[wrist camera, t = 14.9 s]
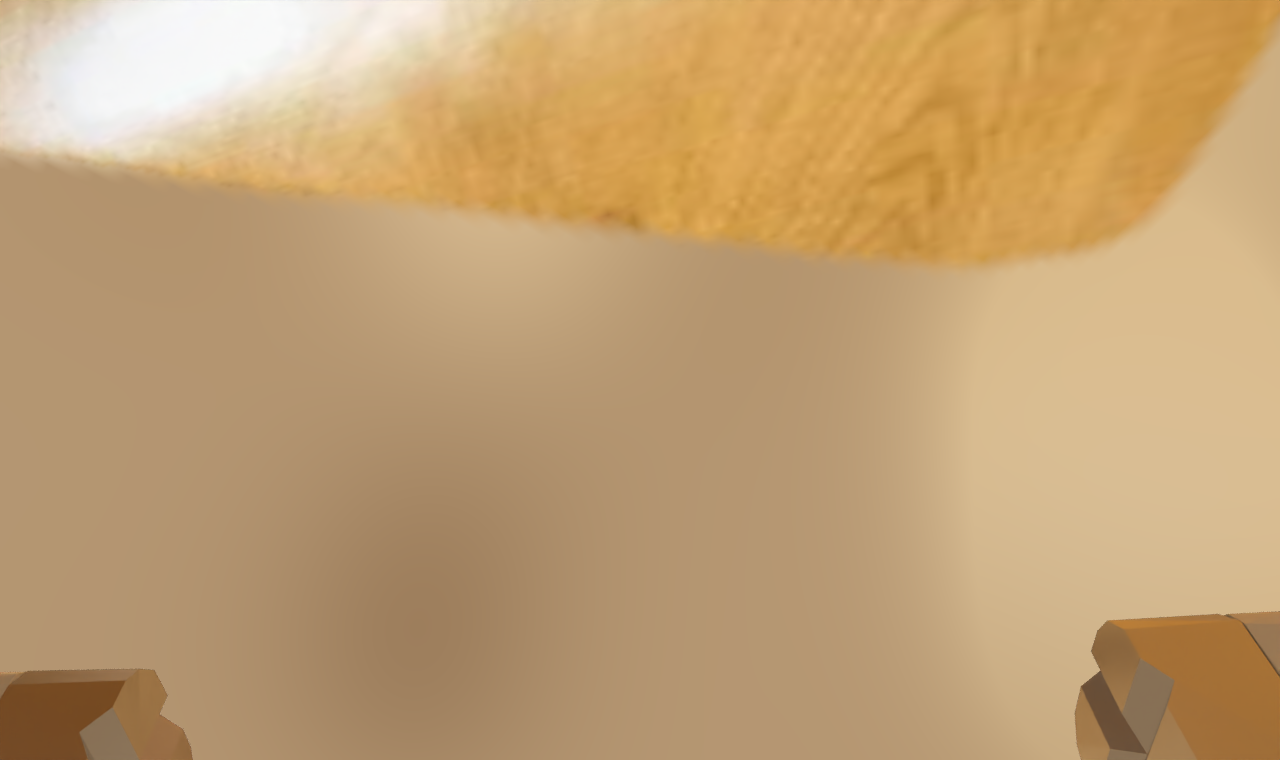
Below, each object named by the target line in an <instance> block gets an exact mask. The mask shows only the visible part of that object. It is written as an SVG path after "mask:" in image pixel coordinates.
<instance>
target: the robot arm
mask: <svg viewBox="0 0 1280 760" xmlns="http://www.w3.org/2000/svg"><path fill="white" fill-rule="evenodd" d="M1091 652H1092V654H1093V656H1094V658H1095V660H1096V662H1097V664H1098V666H1099V668H1100V670H1101V671H1099V672H1098V673H1097V674H1096V675H1094V676H1093V677H1092V678H1091V679H1090V680H1089V681H1087V682H1086V683H1085V684H1083V685H1082V686H1081V688H1080V693H1079V697H1078V701H1077V705H1076V710H1075V725H1076V740H1077V747H1078V750H1079V754H1080V757H1081V760H1280V611H1279V612H1259V613H1240V614H1227V615H1220V614H1210V615H1194V616H1193V615H1192V616H1175V617H1159V618H1142V619H1126V620H1109V621H1106V622H1105V624H1104V625H1103V626H1102V627H1101V628H1100V629H1099V630H1098V631H1097V634H1096V637H1095V640H1094V643H1093V647H1092V650H1091ZM167 696H168V695H167V693H166V691H165V689H164V687H163V685H162V683H161V681H160V679H159V678H158V676H157V674H156V672H155V670H150V669H101V670H100V669H96V670H50V671H27V672H0V760H193V758H192V750H191V746H190V744H189V742H188V739H187V737H186V735H185V732H184V730H183V729H182V728H181V727H179V726H177V725H176V724H174V723H173V722H171V721H170V720H168V719H167V718H165V717H163V716H162V715H160V712H161V710H162V708H163V705H164V703H165V701H166V699H167Z"/></svg>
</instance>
